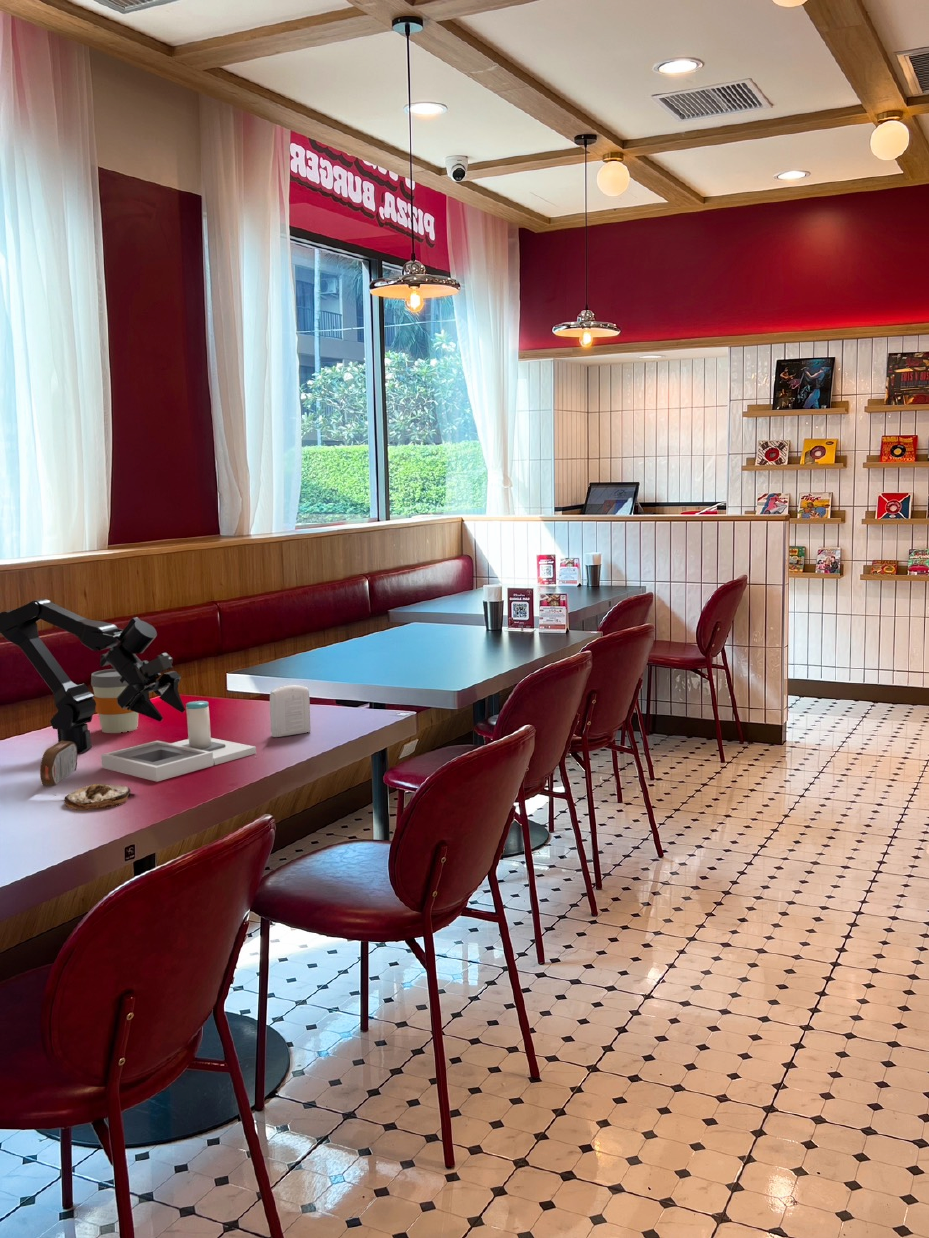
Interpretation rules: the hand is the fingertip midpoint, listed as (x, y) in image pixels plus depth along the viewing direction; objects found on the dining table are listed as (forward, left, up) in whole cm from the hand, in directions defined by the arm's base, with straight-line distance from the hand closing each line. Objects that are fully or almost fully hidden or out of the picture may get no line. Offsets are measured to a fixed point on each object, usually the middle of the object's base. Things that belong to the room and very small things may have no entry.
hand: (173, 715), depth 256 cm
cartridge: (+7, -2, -7) cm, 10 cm away
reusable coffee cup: (-24, +29, -10) cm, 39 cm away
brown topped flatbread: (-5, -34, -11) cm, 36 cm away
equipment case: (+3, -7, -10) cm, 12 cm away
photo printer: (+23, +21, -10) cm, 33 cm away
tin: (-19, -20, -10) cm, 29 cm away
